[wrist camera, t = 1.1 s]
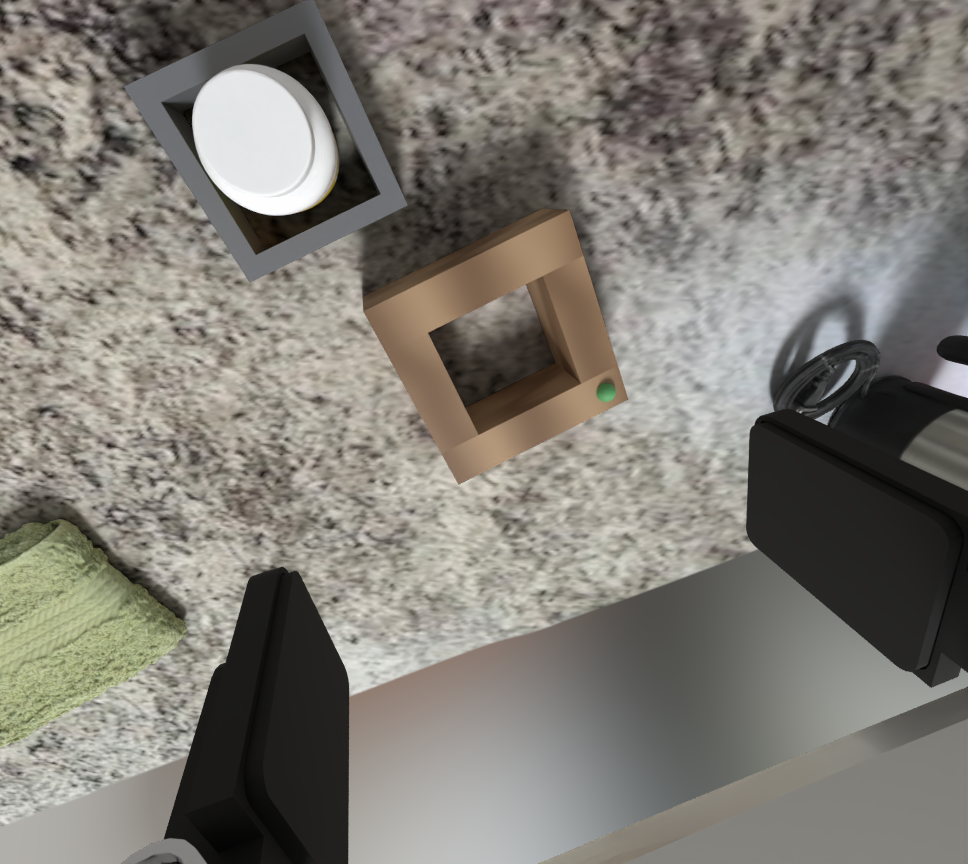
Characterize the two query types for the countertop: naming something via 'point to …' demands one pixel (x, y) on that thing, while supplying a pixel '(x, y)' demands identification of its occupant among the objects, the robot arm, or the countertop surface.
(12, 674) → the washcloth
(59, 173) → the countertop surface
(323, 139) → the supplement bottle
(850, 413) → the milk frother
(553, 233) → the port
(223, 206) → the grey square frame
